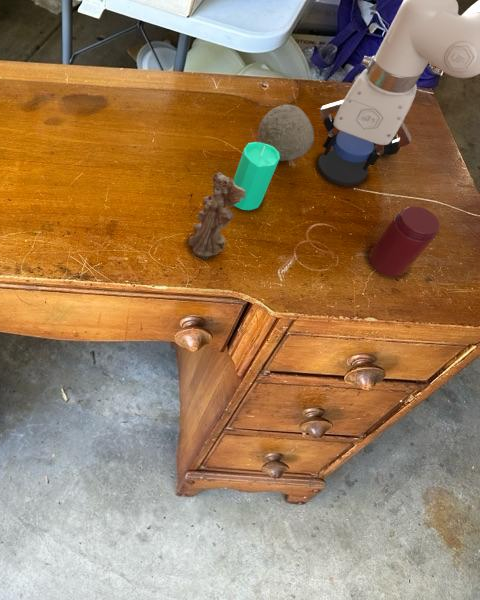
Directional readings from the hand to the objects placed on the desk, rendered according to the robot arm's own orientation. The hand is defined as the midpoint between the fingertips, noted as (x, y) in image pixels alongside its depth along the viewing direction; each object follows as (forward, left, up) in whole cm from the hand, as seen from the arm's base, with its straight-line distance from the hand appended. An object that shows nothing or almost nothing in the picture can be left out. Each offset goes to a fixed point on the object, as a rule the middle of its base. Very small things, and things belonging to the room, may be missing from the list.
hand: (346, 157), depth 106 cm
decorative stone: (+12, +3, -3) cm, 13 cm away
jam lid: (0, 0, +3) cm, 3 cm away
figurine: (+15, +31, -3) cm, 34 cm away
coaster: (0, 0, -3) cm, 3 cm away
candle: (+13, +17, -3) cm, 21 cm away
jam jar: (-13, +18, -3) cm, 22 cm away
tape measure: (-4, -10, -3) cm, 11 cm away
